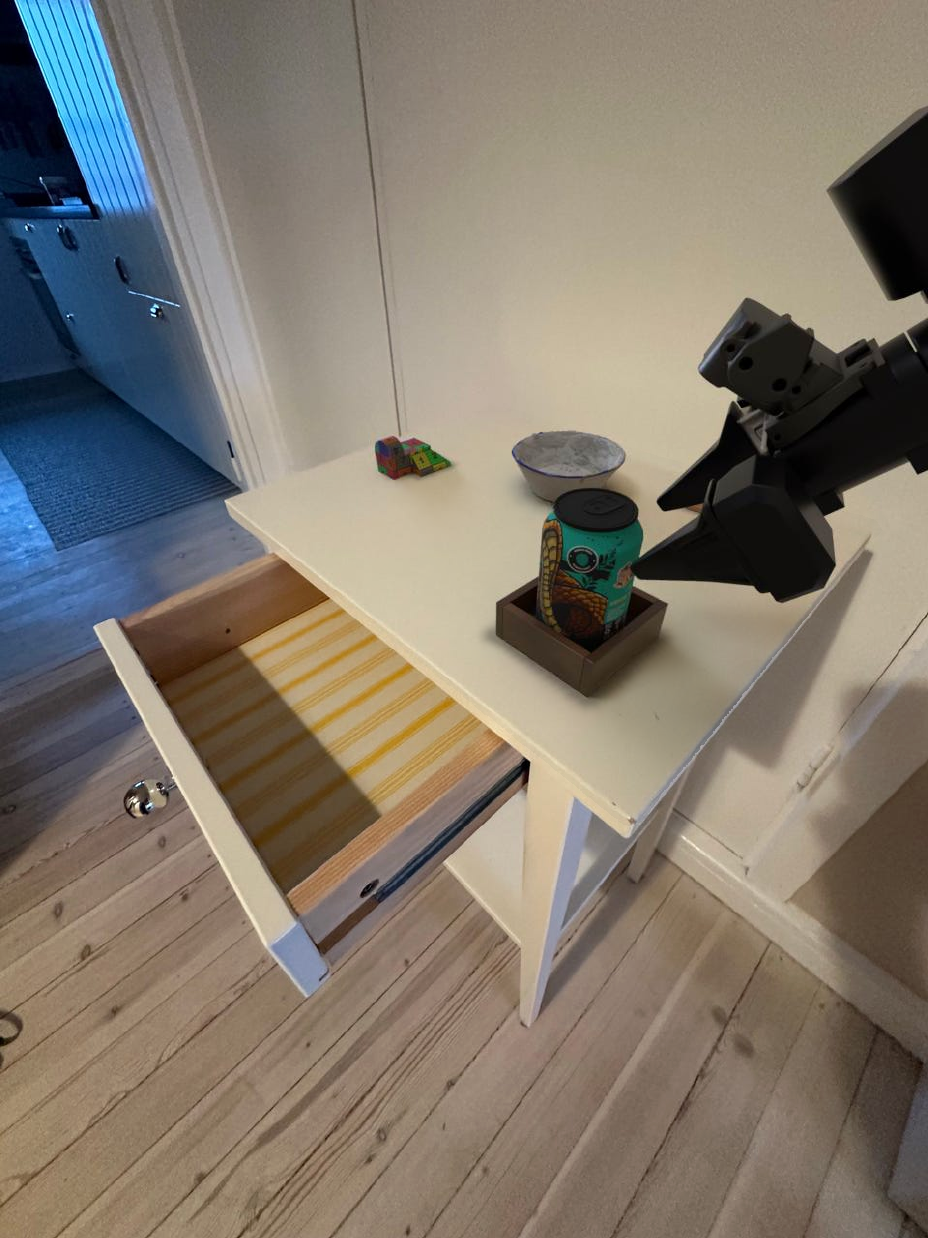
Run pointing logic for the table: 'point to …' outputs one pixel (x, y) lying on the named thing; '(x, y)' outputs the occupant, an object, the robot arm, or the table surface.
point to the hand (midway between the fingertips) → (648, 536)
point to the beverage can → (588, 565)
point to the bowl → (566, 461)
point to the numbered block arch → (407, 457)
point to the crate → (568, 656)
